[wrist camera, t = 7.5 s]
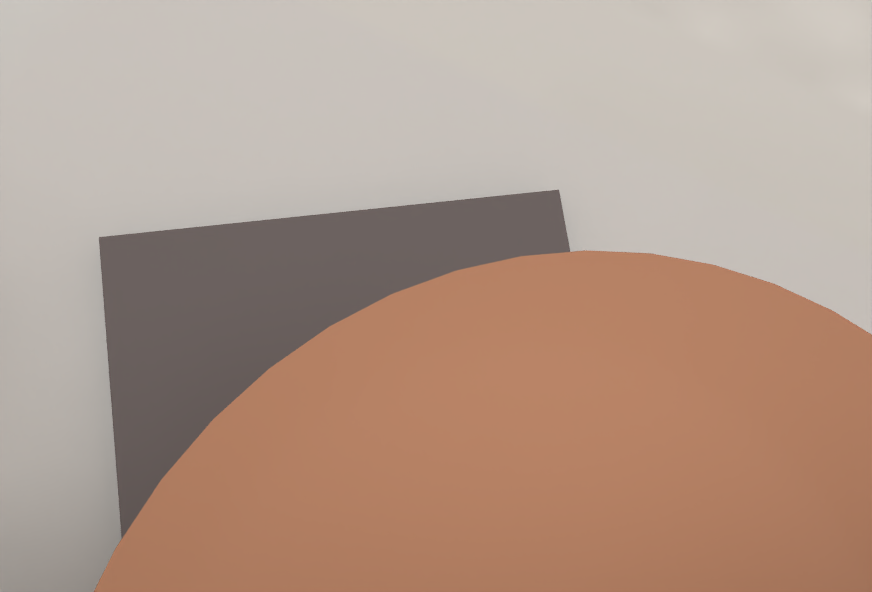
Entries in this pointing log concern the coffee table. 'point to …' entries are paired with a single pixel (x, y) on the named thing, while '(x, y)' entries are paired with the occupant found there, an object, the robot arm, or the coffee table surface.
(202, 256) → the mat
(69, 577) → the coffee table surface
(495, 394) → the tan cylinder
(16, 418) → the coffee table surface
